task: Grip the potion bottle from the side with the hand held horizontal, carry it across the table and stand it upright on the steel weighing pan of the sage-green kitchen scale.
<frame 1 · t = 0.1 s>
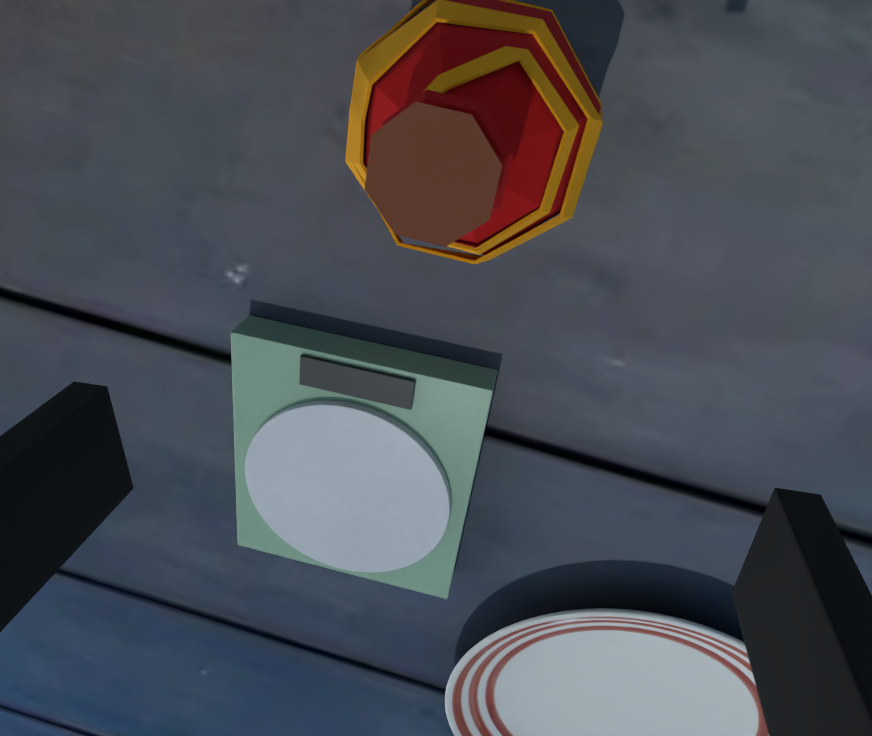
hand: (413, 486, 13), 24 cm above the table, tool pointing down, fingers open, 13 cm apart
potion bottle: (490, 112, 31), on the table
kitchen scale: (360, 455, 43), on the table
dinner plate: (619, 696, 50), on the table
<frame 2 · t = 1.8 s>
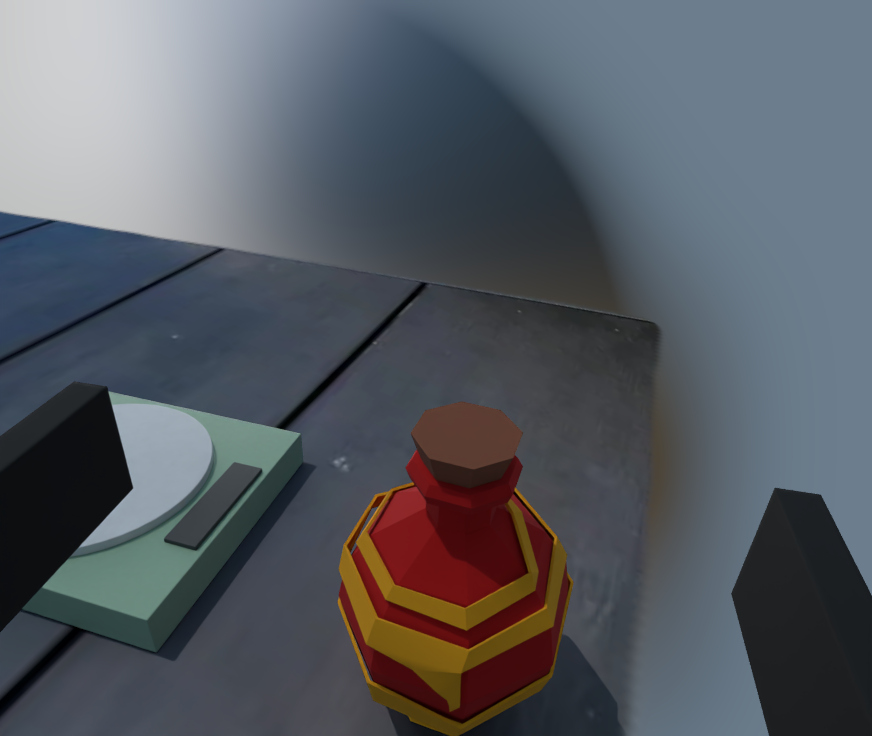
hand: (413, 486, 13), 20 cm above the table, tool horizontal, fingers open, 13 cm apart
potion bottle: (446, 681, 31), on the table
kitchen scale: (117, 507, 40), on the table
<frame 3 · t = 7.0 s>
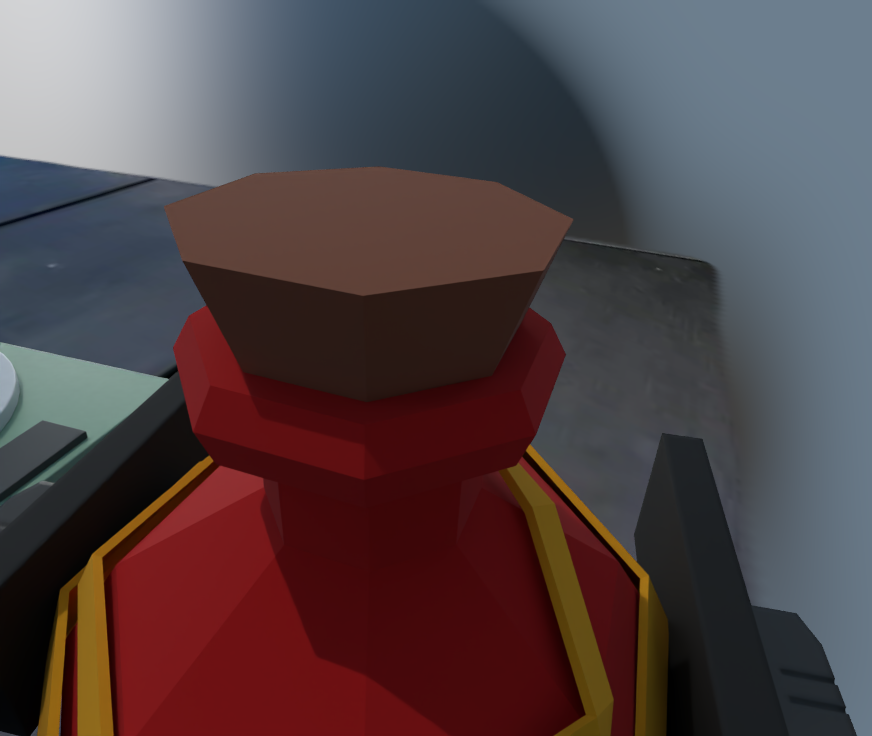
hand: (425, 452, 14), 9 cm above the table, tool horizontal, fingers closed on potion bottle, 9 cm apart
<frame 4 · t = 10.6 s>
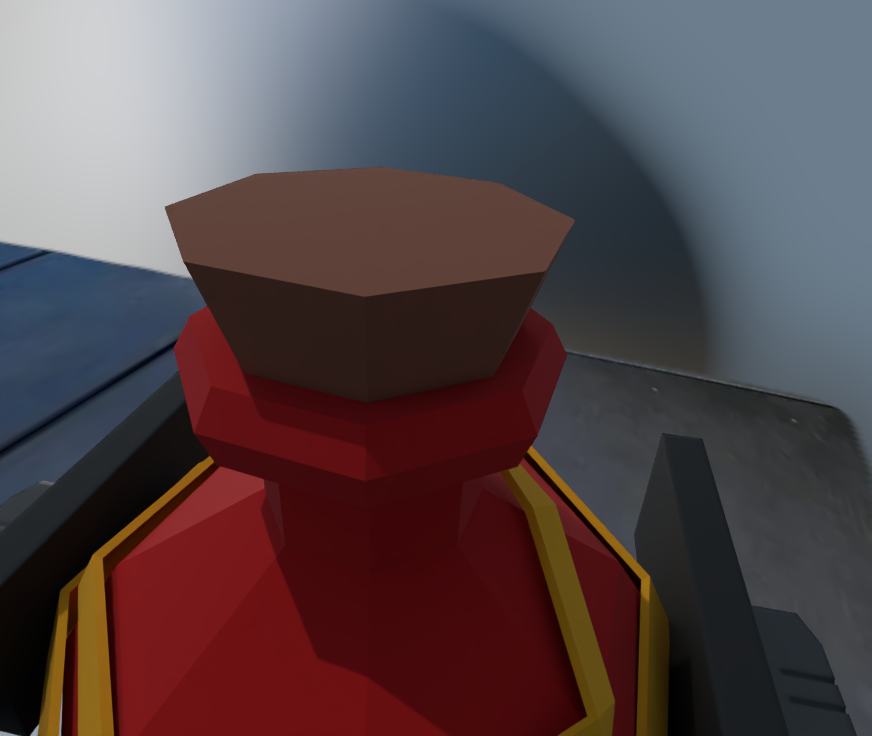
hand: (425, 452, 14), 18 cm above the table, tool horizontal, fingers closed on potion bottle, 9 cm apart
when the fingers open (12 cm above the table, at t = 14.6 s): potion bottle stays where it is, resting on kitchen scale.
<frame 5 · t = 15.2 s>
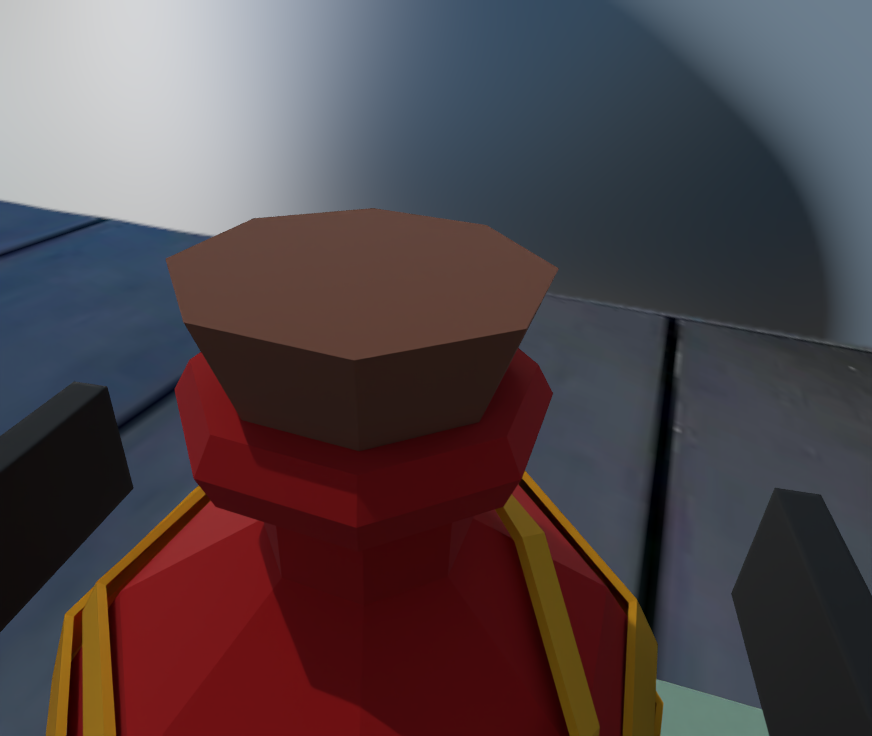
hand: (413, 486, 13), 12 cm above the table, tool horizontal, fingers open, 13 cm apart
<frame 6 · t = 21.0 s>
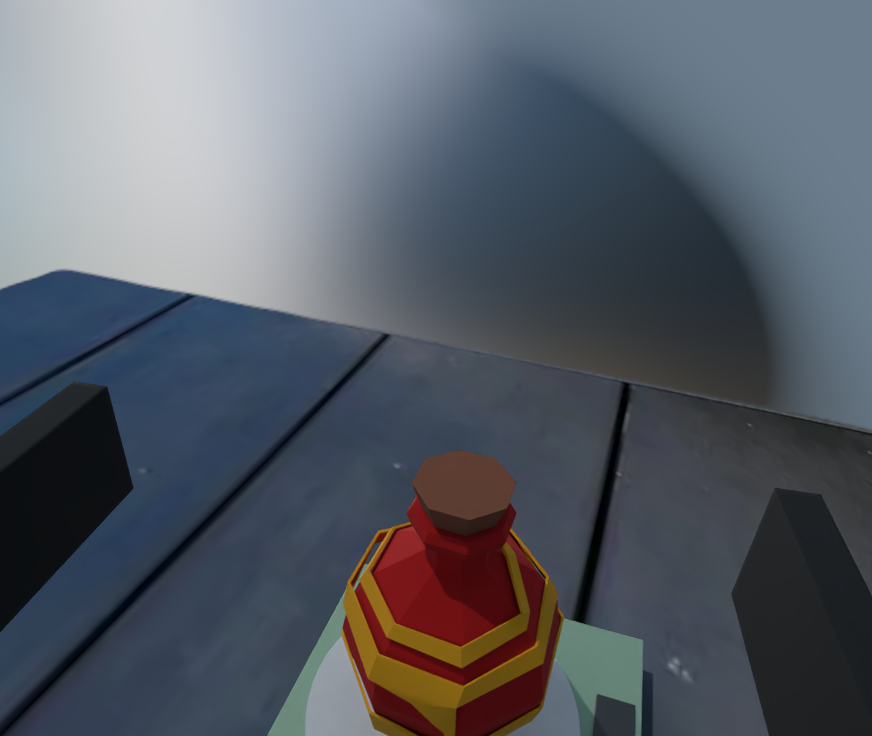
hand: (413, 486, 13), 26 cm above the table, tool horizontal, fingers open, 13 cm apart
potion bottle: (443, 707, 32), point 3 cm above the table, touching kitchen scale
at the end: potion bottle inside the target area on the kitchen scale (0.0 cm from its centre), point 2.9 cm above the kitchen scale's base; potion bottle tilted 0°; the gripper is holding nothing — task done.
